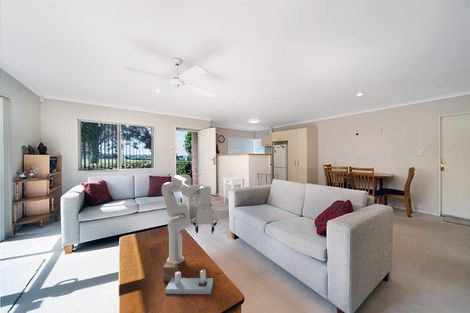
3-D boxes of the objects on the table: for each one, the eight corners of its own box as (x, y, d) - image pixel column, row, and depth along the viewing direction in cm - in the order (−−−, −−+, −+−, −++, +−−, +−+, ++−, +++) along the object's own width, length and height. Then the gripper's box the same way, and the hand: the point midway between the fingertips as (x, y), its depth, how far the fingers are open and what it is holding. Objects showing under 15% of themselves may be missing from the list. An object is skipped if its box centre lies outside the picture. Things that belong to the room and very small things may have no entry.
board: (171, 281, 114) (171, 268, 114) (213, 282, 114) (213, 268, 114) (165, 293, 104) (165, 278, 104) (210, 293, 104) (210, 278, 104)
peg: (200, 285, 110) (200, 269, 111) (206, 285, 110) (206, 269, 111) (199, 289, 107) (199, 272, 107) (205, 289, 107) (205, 272, 107)
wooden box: (167, 274, 122) (167, 260, 122) (177, 274, 121) (177, 260, 122) (163, 281, 115) (163, 266, 115) (174, 281, 114) (174, 266, 115)
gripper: (219, 204, 120) (218, 230, 119) (192, 204, 120) (192, 230, 119) (217, 207, 112) (217, 235, 112) (189, 207, 112) (189, 235, 112)
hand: (204, 232), depth 116 cm, fingers open, 9 cm apart
